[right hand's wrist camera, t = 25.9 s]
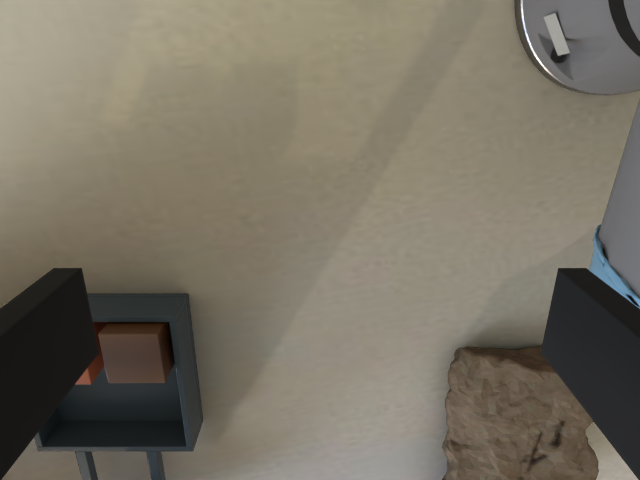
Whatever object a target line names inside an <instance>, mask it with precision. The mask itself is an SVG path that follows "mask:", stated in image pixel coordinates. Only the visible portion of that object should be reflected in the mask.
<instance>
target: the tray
mask: <svg viewBox="0 0 640 480" xmlns="http://www.w3.org/2000/svg"><path fill="white" fill-rule="evenodd" d="M87 296H88V301H89V306H90V311H91V316H92V320H93V322H169V324H170V331H171V338H172V345H173V353H174V360H175V364H174V366H173V368H172V370H171V372H170V374H169V376H168V378H167V380H166V382H165V383H108V379H107V374H106V370H105V366H104V367H103V369H102V370H101V371H100V373H99V374H98V376H97V377H96V378H95V380H94V381H93V383H92V384H75V385H74V386H73V387H72V389H71V390H70V391H69V393H68V394H67V395H66V396H65V398H64V399H63V400H62V402H61V403H60V404H59V406H58V407H57V408H56V409H55V411H54V412H53V413H52V415H51V416H50V417H49V418H48V420H47V421H46V422H45V424H44V425H43V426H42V428H41V429H40V430H39V431H38V433H37V434H36V435H35V437H34V439H35V442H36V445H37V449H38V451H75V453H76V457H77V461H78V465H79V469H80V473H81V477H82V480H98V477H97V473H96V469H95V465H94V461H93V456H92V452H91V451H147V457H148V463H149V468H150V474H151V479H152V480H165V474H164V468H163V462H162V456H161V451H193V450H194V447H195V444H196V441H197V437H198V434H199V431H200V428H201V425H202V423H203V416H202V408H201V399H200V391H199V382H198V374H197V365H196V357H195V349H194V340H193V332H192V323H191V315H190V306H189V298H188V294H87Z"/></svg>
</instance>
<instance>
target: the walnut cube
mask: <svg viewBox="0 0 640 480" xmlns="http://www.w3.org/2000/svg"><path fill="white" fill-rule="evenodd" d="M98 336H99V341H100V346H101V351H102V355H103V360H104V365H105V370H106V374H107V379H108V383H165V382H166V380H167V378H168V376H169V374H170V372H171V370H172V368H173V366H174V364H175V360H174V353H173V345H172V338H171V331H170V324H169V322H108V323H107V324H106V325H105V327H104V328H103V329H102V330H101V332H100V333H99V334H98Z"/></svg>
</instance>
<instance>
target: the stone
mask: <svg viewBox="0 0 640 480" xmlns="http://www.w3.org/2000/svg"><path fill="white" fill-rule="evenodd" d="M541 349H542V347H539V346H538V347H535V348H533V347H529V348H524V349H520V350H509V349H495V348H477V347H465V348H459V349H457V350H456V352H455V354H454V356H455V359H454V360H453V362H452V363H451V365H450V369H449V371H448V383H449V385H450V387H451V388H450V390H449V392H448V393H447V397H446V398H445V408H446V412H447V425H448V433H447V435H446V438H445V440H444V442H443V446H442V448H443V450H444V453H445V455H446V457H447V459H448V460H447V473H446V475H445V476H444V477H443V479H442V480H596V478H597V475H598V472H599V470H598V460H597V457H596V454H595V452H594V451H593V449H592V448H591V447H590V445H589V443H588V438H587V437H586V435H585V429H586V428H587V427H588V426H589V425H590V424H591V423H592V422H594V421H593V420H592V418H591V417H590V416H589V415H588V413H587V412H586V411H585V409H584V408H583V407H582V406H581V404H580V403H579V402H578V400H577V399H576V398H575V396H574V395H573V394H572V393H571V391H570V390H569V389H568V387H567V386H566V385H565V384H564V382H563V381H562V380H561V378H560V377H559V376H558V374H557V373H556V372H555V371H554V369H553V368H552V367H551V365H550V364H549V363H548V361H547V360H546V359H545V358H544V356H543V355H542V354H541Z"/></svg>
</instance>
